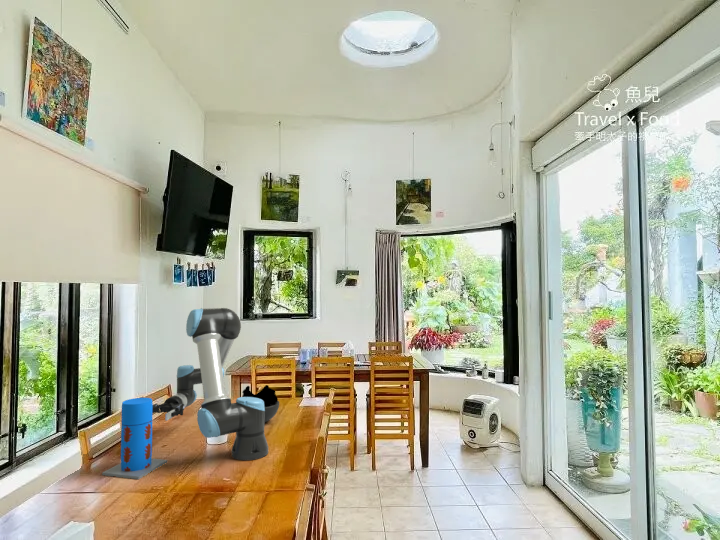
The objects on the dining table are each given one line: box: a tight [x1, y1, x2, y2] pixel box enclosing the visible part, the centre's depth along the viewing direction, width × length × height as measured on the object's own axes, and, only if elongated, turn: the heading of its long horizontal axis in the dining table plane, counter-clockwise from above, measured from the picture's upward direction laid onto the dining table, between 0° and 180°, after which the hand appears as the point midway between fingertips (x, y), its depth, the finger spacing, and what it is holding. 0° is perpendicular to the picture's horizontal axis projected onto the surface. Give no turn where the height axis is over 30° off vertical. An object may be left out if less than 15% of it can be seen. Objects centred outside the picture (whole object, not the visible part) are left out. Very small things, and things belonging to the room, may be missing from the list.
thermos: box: [120, 397, 154, 472], centre depth 170 cm, size 11×11×25 cm
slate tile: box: [101, 458, 169, 480], centre depth 169 cm, size 16×16×1 cm
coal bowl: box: [241, 384, 280, 423], centre depth 228 cm, size 20×20×19 cm
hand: (150, 417), depth 179 cm, fingers open, 13 cm apart
